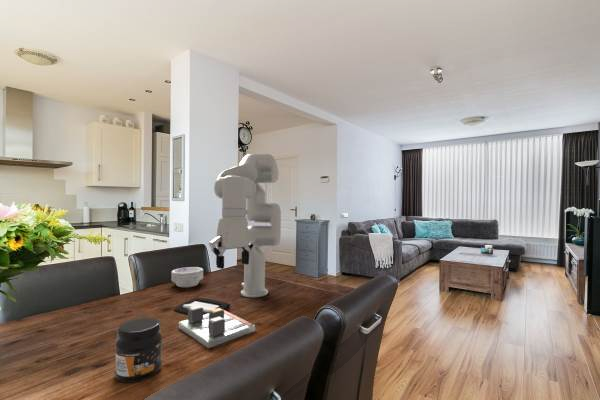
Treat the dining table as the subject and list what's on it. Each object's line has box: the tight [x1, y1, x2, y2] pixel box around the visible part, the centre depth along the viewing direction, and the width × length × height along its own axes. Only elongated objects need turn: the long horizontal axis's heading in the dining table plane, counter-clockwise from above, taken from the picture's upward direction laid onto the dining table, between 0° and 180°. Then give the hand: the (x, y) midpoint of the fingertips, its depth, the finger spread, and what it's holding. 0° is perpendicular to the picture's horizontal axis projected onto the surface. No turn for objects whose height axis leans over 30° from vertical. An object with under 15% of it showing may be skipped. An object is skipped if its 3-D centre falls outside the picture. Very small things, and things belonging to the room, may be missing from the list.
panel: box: [178, 310, 256, 349], centre depth 103 cm, size 20×17×2 cm
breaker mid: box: [209, 308, 224, 320], centre depth 103 cm, size 3×4×4 cm
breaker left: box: [187, 306, 203, 323], centre depth 105 cm, size 3×4×4 cm
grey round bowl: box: [171, 266, 204, 288], centre depth 155 cm, size 15×15×8 cm
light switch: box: [173, 297, 231, 316], centre depth 121 cm, size 20×3×14 cm
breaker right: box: [208, 317, 225, 336], centre depth 95 cm, size 3×4×4 cm
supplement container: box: [114, 317, 163, 383], centre depth 77 cm, size 10×10×12 cm
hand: (233, 265), depth 100 cm, fingers open, 9 cm apart
